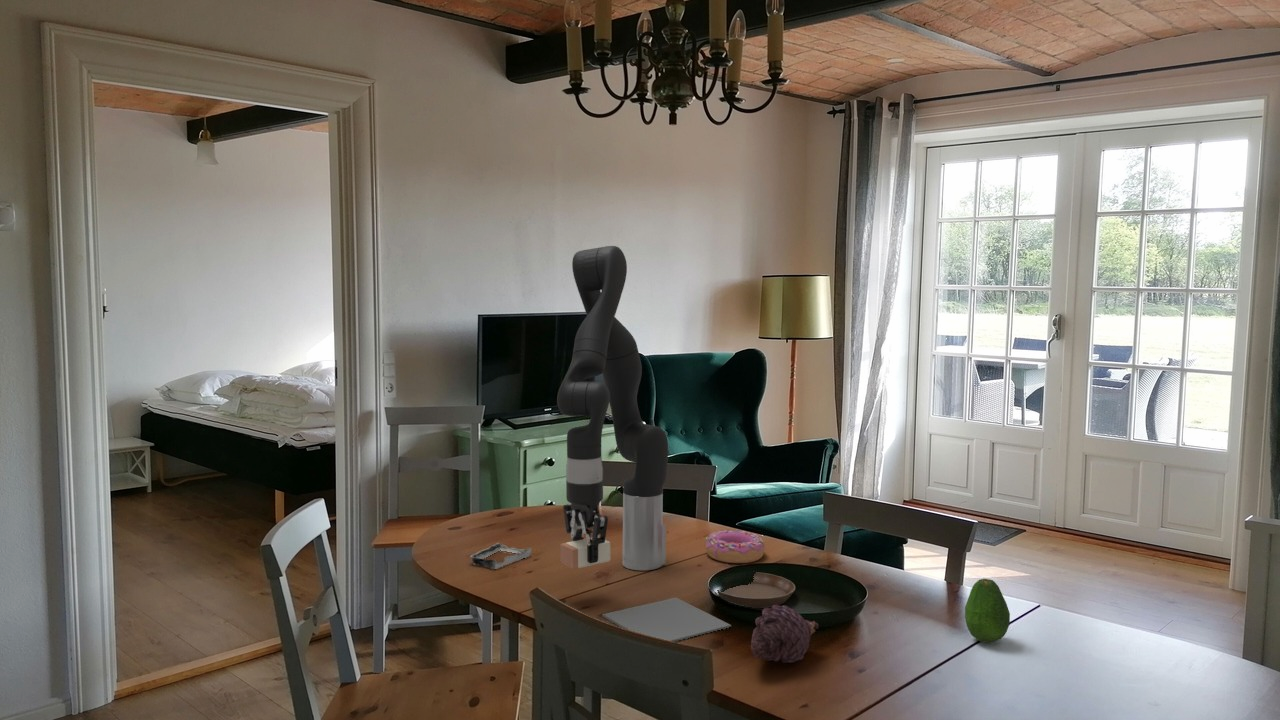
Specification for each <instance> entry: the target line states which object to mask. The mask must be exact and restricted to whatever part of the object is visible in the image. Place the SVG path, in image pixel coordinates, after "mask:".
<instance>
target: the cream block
mask: <svg viewBox="0 0 1280 720" xmlns="http://www.w3.org/2000/svg"><path fill="white" fill-rule="evenodd" d="M591 539H592V537H591ZM587 545H588V544H587V540H586V538H584V539H583V540H578V541H573V540H572V541H568V542H562V543H560V544H559V546H560V548H559V549H560V563H561V564H562V565H564V566H566V567H568V568H569V569H572V570H575V569H580V568H581V569H582V568H585V567H589V566H590V567H591V566H594V565H597V564H604V563H607V562H610V561H611V541H609V540H607V539H605V542H604V543H601V544H599V545H598V561H597V562H595V563H588V561H587Z"/></svg>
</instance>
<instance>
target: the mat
mask: <svg viewBox="0 0 1280 720" xmlns="http://www.w3.org/2000/svg"><path fill="white" fill-rule="evenodd" d="M602 618H604V619H606V620H607V621H609V622H610V623H612V624H614V623H616V624H615V625H616V626H617V627H619V628H621V627H622V628H625V629H628V630H631V631H635V632H638V633H641V634H645V635H649V636H652V637H656V638H660V639H664V640H668V641H673V642H674V643H677V642H679V641H677V640H681V641H684V640H683V639H685V640H688V638H689V639H691V638H690V637H693V638H695V637H694V636H697V637H699V636H698V635H701V636H703V635H702V634H704V635H706V634H705V633H708V634H711V633H710V632H712V633H714V632H713V631H716V632H718V631H717V630H720V631H722V630H721V629H723V630H726V628H727V629H730V628H729V627H731V628H732V624H729V623H728V622H725V621H724V620H722V619H720V618H718V617H716V616H714V615H712V614H710V613H708V612H706V611H704V610H702V609H700V608H698V607H696V606H694V605H692V604H690V603H688V602H686V601H684V600H682V599H680V598H678V597H671V598H667V599H664V600H659V601H655V602H650V603H646V604H641V605H638V606H633V607H628V608H623V609H619V610H616V611H612V612H606V613H603V614H602ZM627 627H628V628H627ZM622 628H621V629H622ZM633 629H634V630H633ZM637 630H638V631H637Z"/></svg>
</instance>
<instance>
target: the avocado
mask: <svg viewBox="0 0 1280 720" xmlns="http://www.w3.org/2000/svg"><path fill="white" fill-rule="evenodd" d="M968 595H969V596H968V598H967V601H966V604H965V606H964V620H965V623H966V627H967V630H968V631H969V633H970V635H971V637H973V638H974V639H975V640H977V641H978V642H982V643H990V644H991V643H995V642H998V641H1000V640H1001V639H1002V638H1004V637H1005V635H1006V634H1007V632H1008V629H1009V627H1010V621H1011V619H1010V618H1011V616H1010V615H1011V612H1010V610H1009V607H1008V603H1007V602H1006V600H1005V597H1004V595H1003V593H1002V591H1001V589H1000V587H999V584H998V583H996V582H995V581H994V580H993V579H990V578H981V579H978V580H977V581H976V582H975V583H974V584H973V585H972V587H971V589H970V593H969V594H968Z"/></svg>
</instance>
